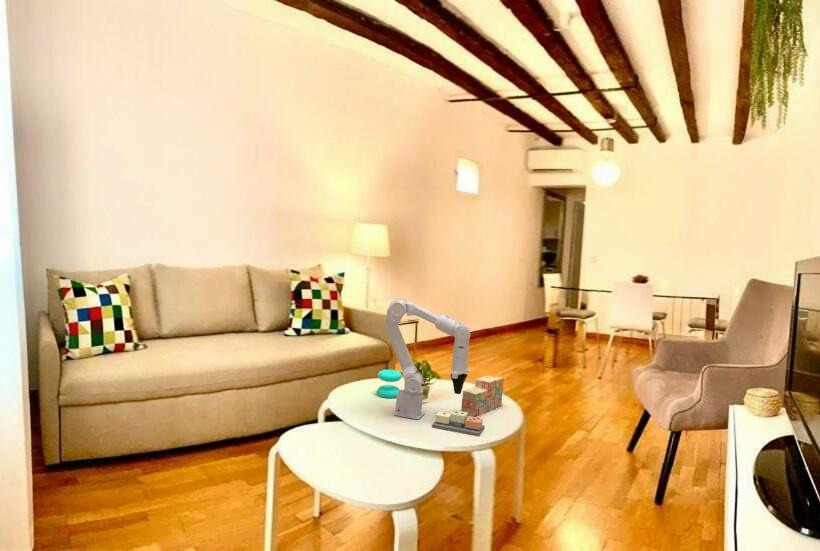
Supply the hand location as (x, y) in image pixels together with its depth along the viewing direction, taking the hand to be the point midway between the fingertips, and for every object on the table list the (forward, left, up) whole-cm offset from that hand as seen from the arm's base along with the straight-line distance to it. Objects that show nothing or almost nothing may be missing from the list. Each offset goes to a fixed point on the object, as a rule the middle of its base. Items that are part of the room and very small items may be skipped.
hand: (457, 393), depth 190 cm
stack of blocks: (+6, +17, -10) cm, 21 cm away
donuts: (-33, +15, -10) cm, 38 cm away
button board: (+3, -8, -10) cm, 13 cm away
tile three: (+9, -8, -8) cm, 14 cm away
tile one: (-3, -8, -8) cm, 12 cm away
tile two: (+3, -8, -7) cm, 11 cm away
